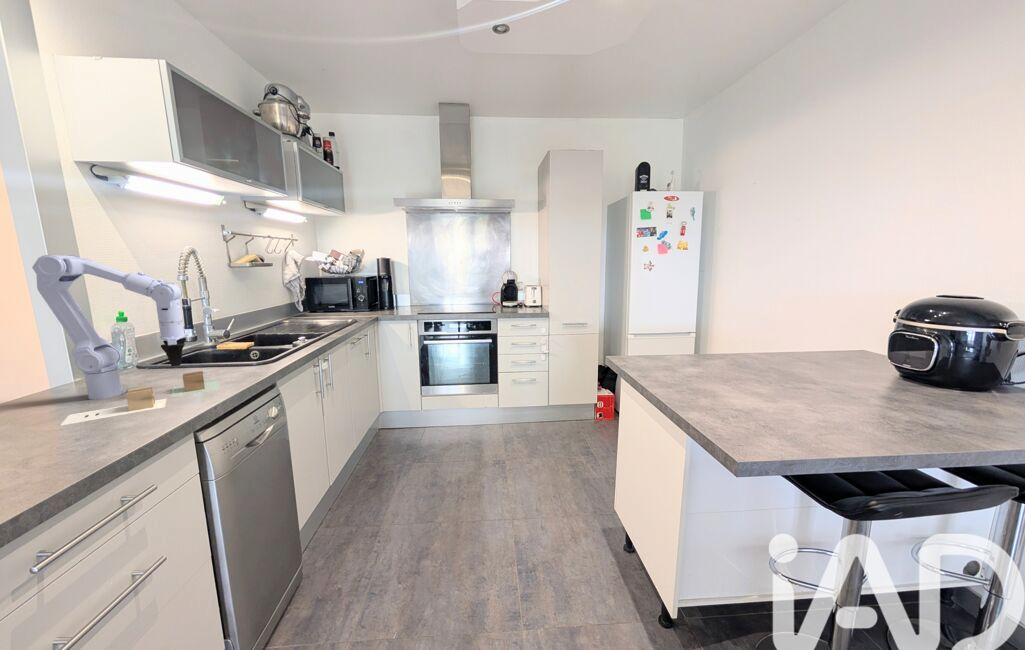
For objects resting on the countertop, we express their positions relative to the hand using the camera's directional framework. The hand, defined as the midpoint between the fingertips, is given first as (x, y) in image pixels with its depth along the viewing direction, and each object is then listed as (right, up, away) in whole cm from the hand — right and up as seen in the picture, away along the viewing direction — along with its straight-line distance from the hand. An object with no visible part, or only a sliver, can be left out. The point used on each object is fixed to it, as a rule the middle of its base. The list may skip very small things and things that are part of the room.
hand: (176, 363), depth 125 cm
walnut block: (+4, -8, +2) cm, 10 cm away
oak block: (+2, -11, -14) cm, 18 cm away
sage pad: (+5, -9, +2) cm, 10 cm away
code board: (-2, -12, -17) cm, 21 cm away
